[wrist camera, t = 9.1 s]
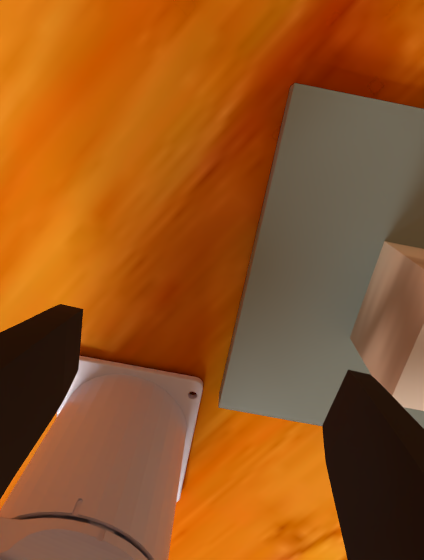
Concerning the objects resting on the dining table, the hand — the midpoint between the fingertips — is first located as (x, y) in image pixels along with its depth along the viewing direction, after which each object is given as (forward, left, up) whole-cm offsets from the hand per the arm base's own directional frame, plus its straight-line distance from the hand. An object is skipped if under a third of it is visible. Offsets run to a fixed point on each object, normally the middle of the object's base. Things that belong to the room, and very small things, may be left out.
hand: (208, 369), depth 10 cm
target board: (0, -10, -9) cm, 13 cm away
